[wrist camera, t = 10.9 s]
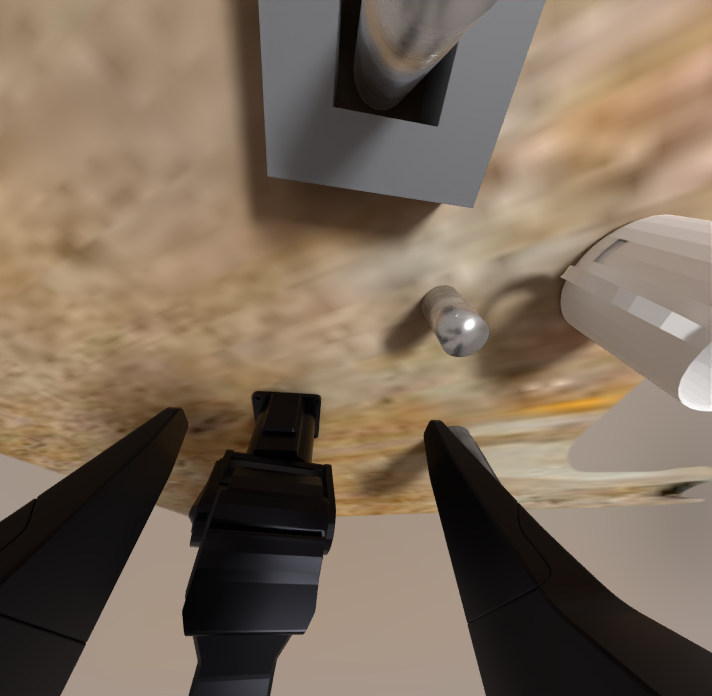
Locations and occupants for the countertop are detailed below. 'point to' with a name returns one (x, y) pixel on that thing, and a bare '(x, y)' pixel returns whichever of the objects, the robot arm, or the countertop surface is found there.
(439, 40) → the long pin
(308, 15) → the hole block
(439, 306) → the short pin
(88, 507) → the robot arm
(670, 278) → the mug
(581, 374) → the countertop surface
